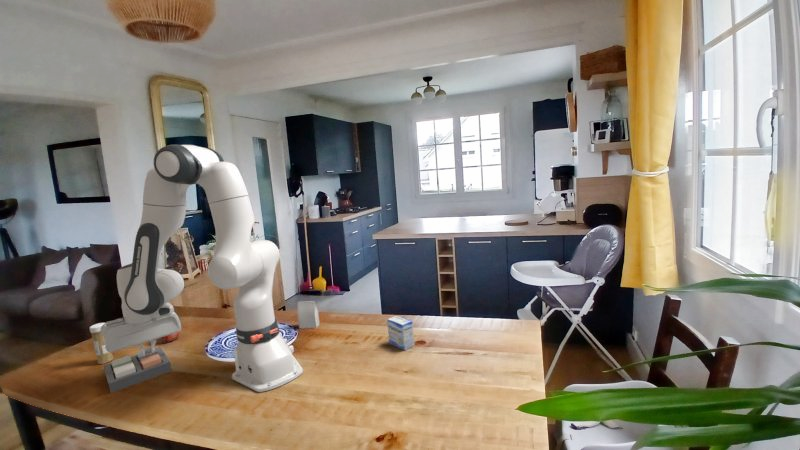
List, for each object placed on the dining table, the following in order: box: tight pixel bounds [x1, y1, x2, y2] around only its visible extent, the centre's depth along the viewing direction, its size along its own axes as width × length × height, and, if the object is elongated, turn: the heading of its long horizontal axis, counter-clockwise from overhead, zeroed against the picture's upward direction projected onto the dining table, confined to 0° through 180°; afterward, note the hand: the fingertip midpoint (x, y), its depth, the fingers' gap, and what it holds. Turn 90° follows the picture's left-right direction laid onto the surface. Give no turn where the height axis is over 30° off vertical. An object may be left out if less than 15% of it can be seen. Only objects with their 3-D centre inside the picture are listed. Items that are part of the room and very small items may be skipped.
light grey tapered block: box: [296, 300, 320, 330], centre depth 149 cm, size 4×7×10 cm, turn 82°
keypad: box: [103, 347, 173, 394], centre depth 125 cm, size 16×16×3 cm
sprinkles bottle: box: [89, 322, 114, 365], centre depth 134 cm, size 5×5×13 cm
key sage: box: [110, 354, 132, 371], centre depth 125 cm, size 5×5×2 cm
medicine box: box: [386, 315, 415, 351], centre depth 127 cm, size 8×4×9 cm, turn 42°
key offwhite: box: [113, 362, 136, 379], centre depth 120 cm, size 5×5×2 cm
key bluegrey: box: [136, 347, 157, 362], centre depth 129 cm, size 5×5×2 cm
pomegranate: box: [159, 329, 182, 343], centre depth 148 cm, size 7×7×10 cm
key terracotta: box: [140, 354, 162, 369], centre depth 124 cm, size 5×5×2 cm
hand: (148, 354), depth 124 cm, fingers closed
